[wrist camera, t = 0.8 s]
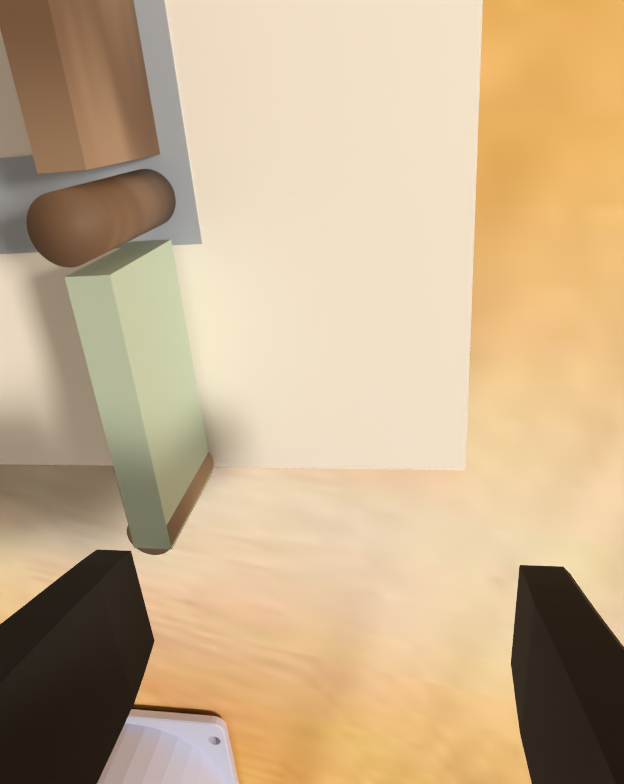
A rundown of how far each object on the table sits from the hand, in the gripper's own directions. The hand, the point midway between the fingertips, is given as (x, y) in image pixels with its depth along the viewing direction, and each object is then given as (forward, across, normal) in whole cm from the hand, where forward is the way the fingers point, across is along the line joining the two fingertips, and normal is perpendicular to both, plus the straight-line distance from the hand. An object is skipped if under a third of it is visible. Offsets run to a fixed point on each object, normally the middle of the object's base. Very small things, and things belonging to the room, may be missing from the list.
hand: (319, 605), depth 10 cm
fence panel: (+8, +5, -1) cm, 9 cm away
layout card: (+8, +5, -6) cm, 11 cm away
